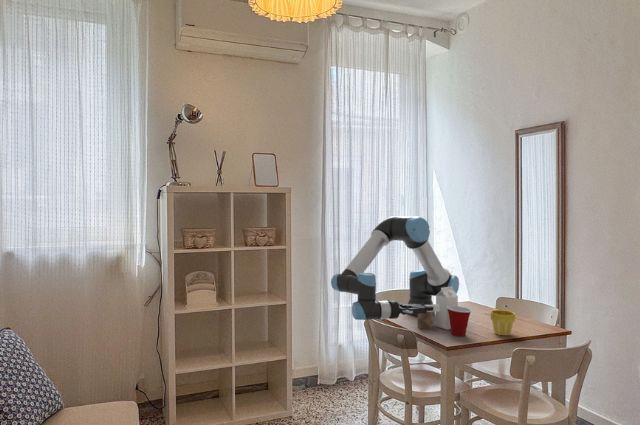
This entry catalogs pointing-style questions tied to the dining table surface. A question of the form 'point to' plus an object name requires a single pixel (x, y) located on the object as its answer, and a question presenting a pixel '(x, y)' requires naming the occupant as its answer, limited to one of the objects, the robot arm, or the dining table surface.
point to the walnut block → (425, 320)
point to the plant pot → (502, 321)
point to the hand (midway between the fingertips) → (438, 307)
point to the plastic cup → (458, 319)
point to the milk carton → (445, 306)
